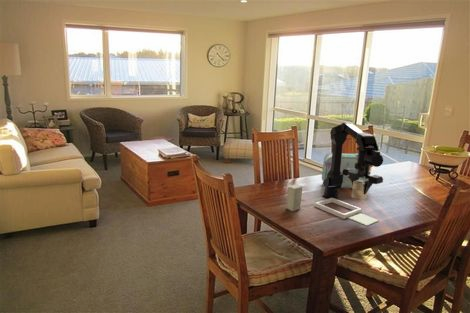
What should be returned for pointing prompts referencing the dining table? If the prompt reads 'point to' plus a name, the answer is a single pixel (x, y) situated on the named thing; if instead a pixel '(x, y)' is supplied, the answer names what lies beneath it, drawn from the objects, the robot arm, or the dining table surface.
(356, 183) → the birch parts box
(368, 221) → the sage pad
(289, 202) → the skincare box
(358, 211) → the white rectangular frame
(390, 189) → the dining table surface
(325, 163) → the lunch box
